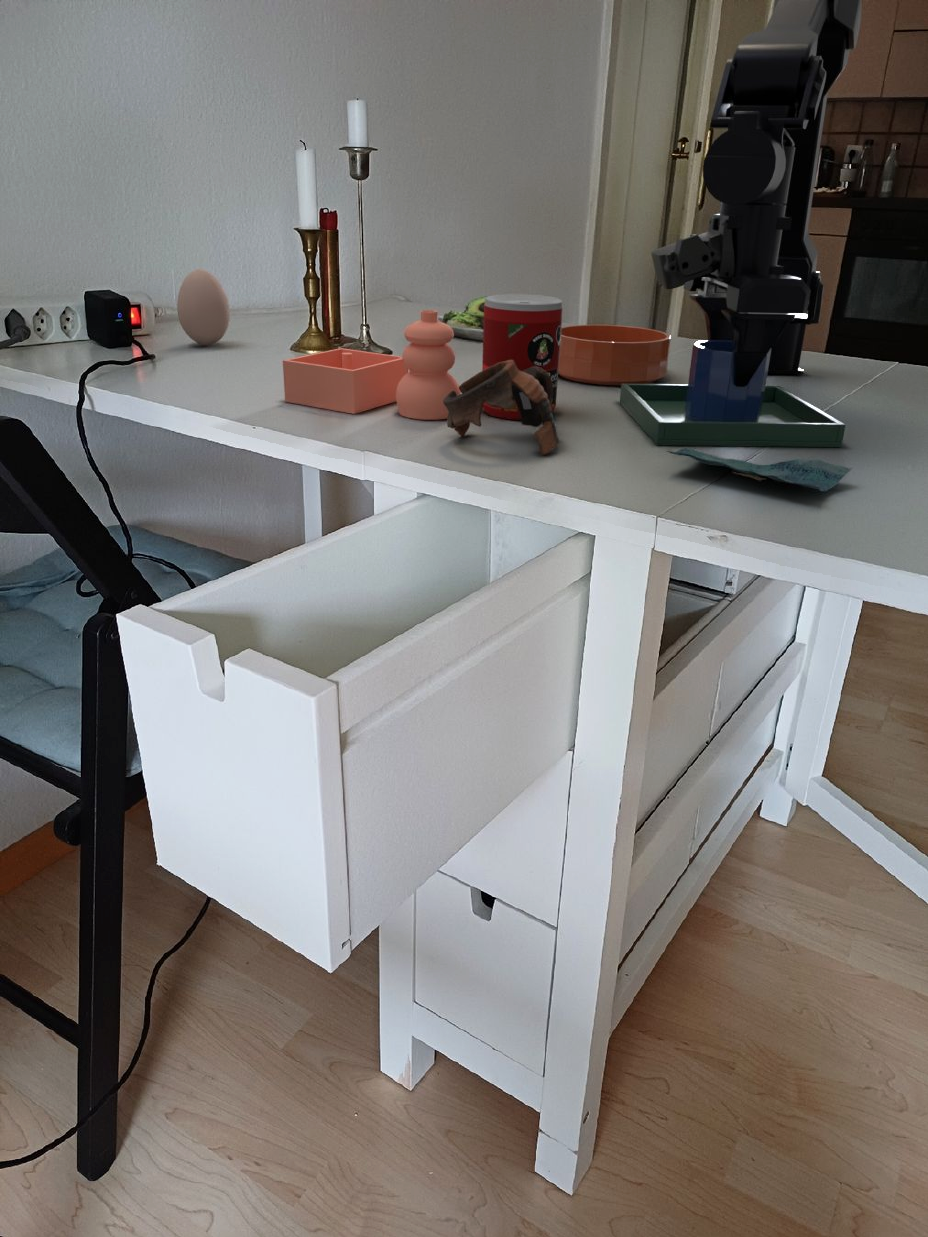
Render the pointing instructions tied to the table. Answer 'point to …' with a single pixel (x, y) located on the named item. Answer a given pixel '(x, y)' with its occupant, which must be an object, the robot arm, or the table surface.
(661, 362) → the terracotta bowl
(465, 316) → the salad plate
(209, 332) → the egg
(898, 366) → the table surface
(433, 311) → the pottery
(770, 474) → the terrain model
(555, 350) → the canned food
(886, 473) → the table surface
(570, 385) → the table surface
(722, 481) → the table surface
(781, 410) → the green tray
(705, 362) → the blue cup
